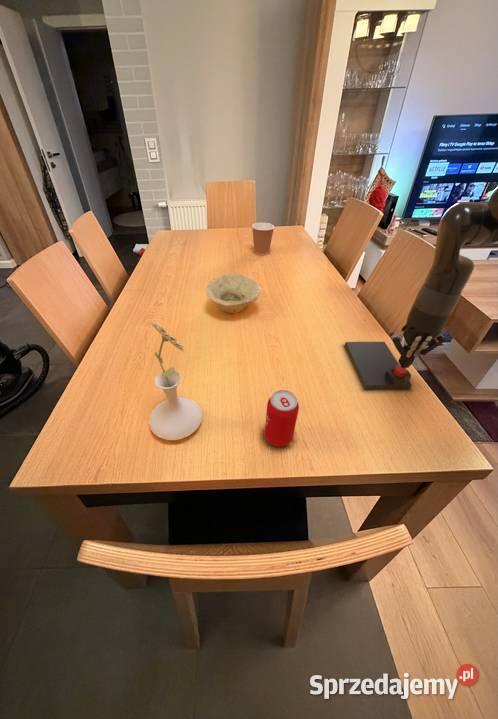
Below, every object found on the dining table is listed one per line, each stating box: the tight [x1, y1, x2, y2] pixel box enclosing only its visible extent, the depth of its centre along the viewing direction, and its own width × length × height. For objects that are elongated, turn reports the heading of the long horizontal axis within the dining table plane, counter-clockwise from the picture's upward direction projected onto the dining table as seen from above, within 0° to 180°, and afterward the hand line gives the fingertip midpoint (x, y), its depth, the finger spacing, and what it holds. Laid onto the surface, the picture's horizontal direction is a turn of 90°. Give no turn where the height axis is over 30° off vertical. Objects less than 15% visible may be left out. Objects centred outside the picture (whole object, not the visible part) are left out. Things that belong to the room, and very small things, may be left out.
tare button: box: [393, 365, 408, 378], centre depth 77 cm, size 3×3×2 cm
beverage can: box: [263, 389, 300, 448], centre depth 61 cm, size 6×6×12 cm
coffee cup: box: [251, 222, 275, 256], centre depth 140 cm, size 10×10×12 cm
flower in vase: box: [148, 319, 203, 441], centre depth 60 cm, size 13×11×25 cm
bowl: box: [205, 273, 261, 314], centre depth 100 cm, size 14×18×15 cm
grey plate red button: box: [343, 341, 413, 391], centre depth 83 cm, size 18×12×4 cm, turn 3°
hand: (403, 365), depth 75 cm, fingers closed
